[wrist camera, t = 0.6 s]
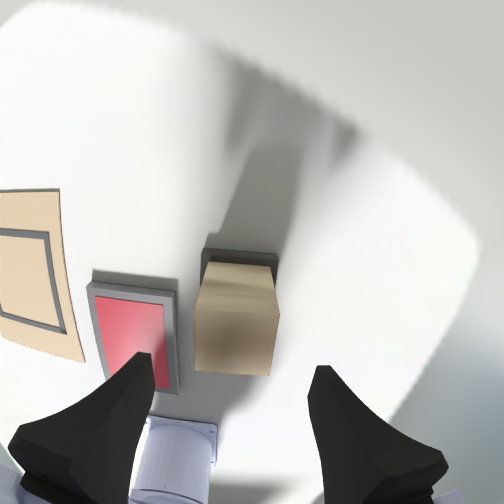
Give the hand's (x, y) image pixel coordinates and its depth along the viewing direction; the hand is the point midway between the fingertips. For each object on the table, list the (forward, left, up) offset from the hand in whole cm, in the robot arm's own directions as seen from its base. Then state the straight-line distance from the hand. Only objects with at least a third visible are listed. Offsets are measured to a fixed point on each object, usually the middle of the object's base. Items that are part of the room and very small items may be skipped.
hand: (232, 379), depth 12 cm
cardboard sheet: (-2, +20, -10) cm, 22 cm away
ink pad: (-6, +8, -10) cm, 14 cm away
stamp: (0, 0, -10) cm, 10 cm away
